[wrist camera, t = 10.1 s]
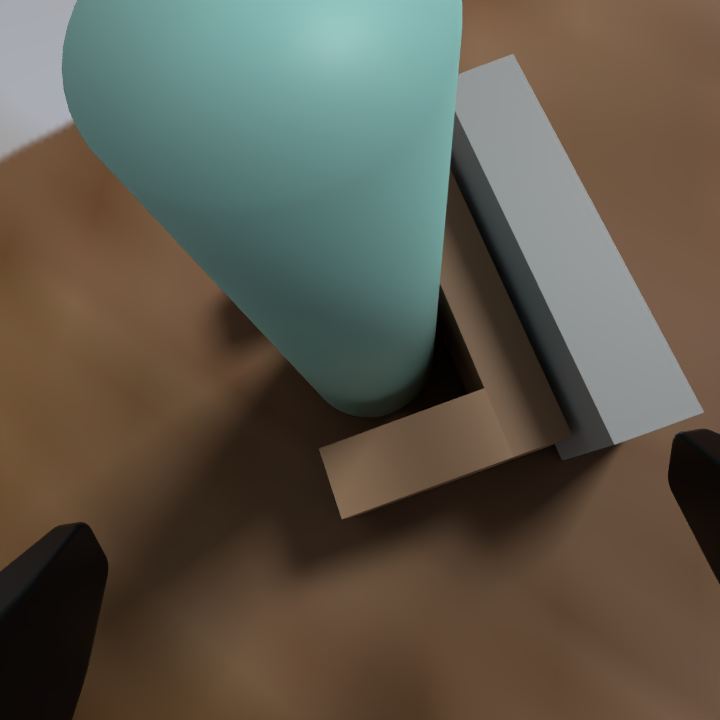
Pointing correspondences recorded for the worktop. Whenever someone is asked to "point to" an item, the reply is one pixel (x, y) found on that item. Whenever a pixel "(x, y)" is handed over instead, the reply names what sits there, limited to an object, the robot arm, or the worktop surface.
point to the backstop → (561, 267)
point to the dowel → (289, 164)
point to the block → (464, 414)
